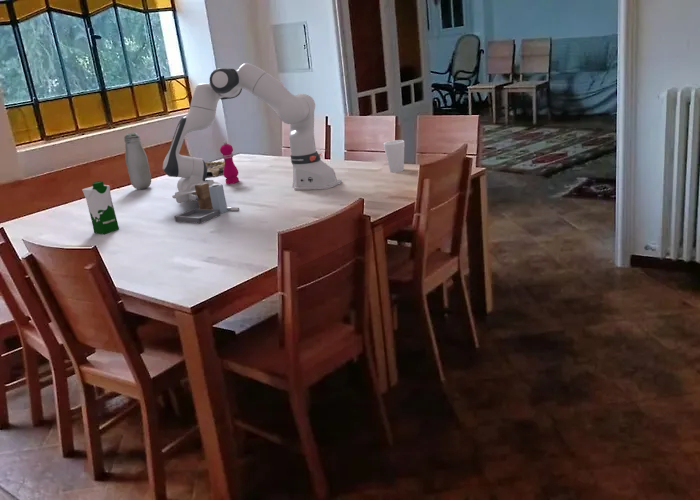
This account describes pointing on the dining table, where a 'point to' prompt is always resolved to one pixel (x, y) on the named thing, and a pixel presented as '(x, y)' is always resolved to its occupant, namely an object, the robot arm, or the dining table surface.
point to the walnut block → (203, 196)
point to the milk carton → (101, 208)
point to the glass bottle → (137, 162)
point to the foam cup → (395, 155)
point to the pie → (215, 167)
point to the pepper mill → (229, 164)
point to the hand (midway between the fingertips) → (204, 195)
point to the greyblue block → (218, 198)
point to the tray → (197, 215)
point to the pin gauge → (232, 209)
